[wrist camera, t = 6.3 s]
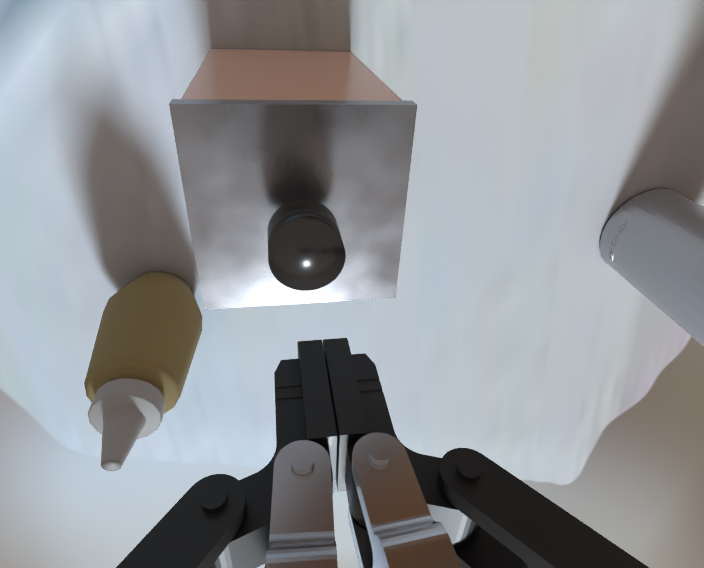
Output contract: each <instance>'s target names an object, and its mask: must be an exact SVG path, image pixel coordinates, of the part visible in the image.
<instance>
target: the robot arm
mask: <svg viewBox="0 0 704 568" xmlns="http://www.w3.org/2000/svg"><path fill="white" fill-rule="evenodd" d="M600 252H601V256H602V257H603V259H604V261H605V262H606V263H608V264H609V265H610V266H611V267H612V268H613V269H614V270H616V271H617V272H618V273H619V274H620V275H621V276H622V277H624V278H625V279H626V280H627V281H628V282H629V283H630V284H631V285H633V286H634V287H635V288H636V289H637V290H638V291H640V292H641V293H642V294H643V295H644V296H645V297H646V298H648V299H649V300H650V301H651V302H652V303H653V304H655V305H656V306H657V307H658V308H659V309H660V310H662V311H663V312H664V313H665V314H666V315H667V316H669V317H670V318H671V319H672V320H673V321H674V322H676V323H677V324H678V325H679V326H680V327H681V328H683V329H684V330H685V331H686V332H687V333H688V334H690V335H691V336H692V337H693V338H694V339H695V340H697V341H698V342H699V343H700V344H701V345H703V346H704V207H703V206H701V205H699V204H697V203H695V202H694V201H692V200H690V199H688V198H686V197H684V196H682V195H681V194H679V193H677V192H675V191H673V190H669V189H654V190H650V191H646V192H644V193H641V194H639V195H637V196H635V197H634V198H632V199H630V200H629V201H627V202H626V203H625V204H624V205H622V206H621V207H620V208H619V209H618V210H617V211H616V212H615V213H614V214H613V215H612V217H611V218H610V220H609V221H608V223H607V224H606V226H605V228H604V230H603V232H602V236H601V239H600ZM275 405H276V437H277V447H276V452H275V454H274V457H273V458H272V460H271V461H270V462H269V464H268V465H267V466H266V467H264V468H263V469H262V470H260V471H259V472H257V473H255V474H253V475H251V476H248V477H246V478H244V479H241V480H237V479H236V478H234V477H232V476H229V475H226V474H215V475H210V476H208V477H205V478H203V479H201V480H200V481H198V482H197V483H195V484H194V485H193V486H192V487H191V488H190V489H189V490H188V491H187V492H186V494H185V495H184V496H183V497H182V498H181V499H180V500H179V501H178V502H177V503H176V504H175V505H174V506H173V507H172V509H171V510H170V511H169V512H168V513H167V514H166V515H165V516H164V517H163V518H162V519H161V520H160V521H159V522H158V524H157V525H156V526H155V527H154V528H153V529H152V530H151V531H150V532H149V533H148V534H147V535H146V536H145V537H144V538H143V539H142V541H141V542H140V543H139V544H138V545H137V546H136V547H135V548H134V549H133V550H132V551H131V552H130V553H129V554H128V556H127V557H126V558H125V559H124V560H123V561H122V562H121V563H120V564H119V565H118V566H117V567H116V568H257V567H259V566H261V565H263V564H264V563H265V568H338V567H337V550H336V541H335V536H334V519H333V518H334V517H333V499H332V495H333V493H334V492H335V483H336V484H337V491H338V492H339V491H347V496H348V502H349V513H348V518H349V524H350V528H351V532H352V536H353V540H354V545H355V549H356V553H357V557H358V561H359V566H360V568H648V567H647V566H646V565H644V564H643V563H641V562H640V561H638V560H637V559H635V558H634V557H632V556H631V555H629V554H628V553H627V552H625V551H624V550H622V549H620V548H619V547H618V546H616V545H615V544H613V543H612V542H610V541H609V540H607V539H606V538H604V537H603V536H602V535H600V534H598V533H597V532H596V531H594V530H593V529H591V528H590V527H588V526H587V525H585V524H584V523H583V522H581V521H580V520H578V519H577V518H575V517H574V516H572V515H571V514H569V513H568V512H566V511H565V510H563V509H562V508H560V507H559V506H557V505H556V504H555V503H553V502H552V501H550V500H549V499H547V498H546V497H544V496H543V495H541V494H540V493H538V492H537V491H535V490H534V489H532V488H531V487H530V486H528V485H527V484H525V483H524V482H522V481H521V480H519V479H518V478H516V477H515V476H513V475H512V474H510V473H509V472H508V471H506V470H505V469H503V468H502V467H500V466H499V465H497V464H496V463H494V462H493V461H491V460H490V459H488V458H487V457H485V456H484V455H482V454H481V453H479V452H477V451H475V450H472V449H468V448H457V449H453V450H450V451H449V452H447V453H446V454H445V455H444V456H443V458H438V457H433V456H427V455H422V454H418V453H416V452H413V451H411V450H410V449H408V448H407V447H405V446H404V445H403V444H402V443H401V442H400V441H399V440H398V438H397V436H396V435H395V432H394V429H393V425H392V422H391V418H390V415H389V411H388V408H387V404H386V401H385V397H384V394H383V392H382V387H381V383H380V381H379V376H378V373H377V369H376V366H375V364H374V363H373V362H372V361H371V360H370V358H369V357H368V356H367V355H366V354H353V355H351V352H350V348H349V344H348V340H347V338H339V339H325V340H323V345H322V340H313V341H299V342H298V359H290V360H281V362H280V364H279V365H278V367H277V369H276V371H275Z"/></svg>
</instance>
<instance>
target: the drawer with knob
mask: <svg viewBox="0 0 704 568" xmlns="http://www.w3.org/2000/svg"><path fill="white" fill-rule="evenodd" d="M169 105H170V111H171V117H172V123H173V129H174V135H175V141H176V147H177V153H178V159H179V165H180V171H181V177H182V183H183V189H184V195H185V201H186V207H187V213H188V219H189V225H190V231H191V237H192V243H193V249H194V255H195V261H196V267H197V273H198V279H199V285H200V291H201V297H202V303H203V309H204V310H206V309H222V308H239V307H255V306H271V305H287V304H304V303H320V302H336V301H352V300H369V299H385V298H395V296H396V287H397V278H398V269H399V260H400V251H401V243H402V234H403V225H404V216H405V207H406V198H407V190H408V181H409V172H410V163H411V154H412V146H413V137H414V128H415V119H416V110H417V104H415V103H414V102H413V101H376V100H205V99H172V100H171V102H170V104H169Z"/></svg>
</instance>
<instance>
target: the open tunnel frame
mask: <svg viewBox="0 0 704 568" xmlns="http://www.w3.org/2000/svg"><path fill="white" fill-rule="evenodd" d="M181 99H205V100H376V101H402V100H401V99H400V98H399V97H398V96H397V95H396V94H395V93H394V92H393V91H392V90H391V89H390V88H389V87H388V86H387V85H386V84H384V83H383V82H382V81H381V80H380V79H379V78H378V77H377V76H376V75H375V74H374V73H373V72H372V71H371V70H370V69H369V68H368V67H366V66H365V65H364V64H363V63H362V62H361V61H360V60H359V59H358V58H357V57H356V56H355V55H354V54H353V53H352V52H343V51H298V50H253V49H210V51H209V53H208V54H207V56H206V58H205V59H204V61H203V63H202V64H201V66H200V68H199V70H198V71H197V73H196V75H195V76H194V78H193V80H192V81H191V83H190V85H189V87H188V88H187V90H186V92H185V93H184V95H183V97H182V98H181Z"/></svg>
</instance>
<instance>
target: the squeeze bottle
mask: <svg viewBox="0 0 704 568" xmlns="http://www.w3.org/2000/svg"><path fill="white" fill-rule="evenodd" d="M201 331H202V315H201V312H200V310H199V307H198V305H197V302H196V300H195V297H194V295H193V293H192V291H191V289H190V287H189V285H188V284H186V283H185V282H184V281H183V280H181V279H180V278H179V277H177V276H174V275H171V274H169V273H164V272H150V273H147V274H143V275H140V276H139V277H137V278H136V279H134V280H133V281H132V282H130V283H129V284H128V285H126V286H125V287H123V288H122V289H121V290H120V291H118V292H117V293H116V294H114V295H113V296H112V297H111V298H109V300H108V303H107V305H106V307H105V309H104V312H103V315H102V319H101V323H100V326H99V330H98V334H97V338H96V342H95V345H94V349H93V353H92V357H91V361H90V364H89V368H88V372H87V376H86V379H85V383H84V384H85V389H86V395H87V397H88V398H89V399H90V401H91V402H92V404H91V407H90V409H89V412H88V416H89V421H90V423H91V425H92V426H93V427H94V428H95V429H96V430H97V431H98V432H100V433H102V455H101V466H102V468H103V469H105V470H107V471H116V470H119V469H120V468H121V466H122V464H123V463H124V461H125V459H126V457H127V455H128V454H129V452H130V450H131V448H132V446H133V445H134V443H135V441H136V439H139V438H143V437H146V436H148V435H150V434H151V433H153V432H154V431H156V430H157V429H158V427H159V425H160V423H161V422H162V417H163V414H164V413H166V412H167V411H169V410H170V409H172V408H173V407H174V406H175V404H176V402H177V401H178V399H179V397H180V395H181V392H182V389H183V386H184V383H185V380H186V377H187V374H188V371H189V368H190V365H191V362H192V359H193V356H194V353H195V350H196V347H197V344H198V341H199V338H200V335H201Z"/></svg>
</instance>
